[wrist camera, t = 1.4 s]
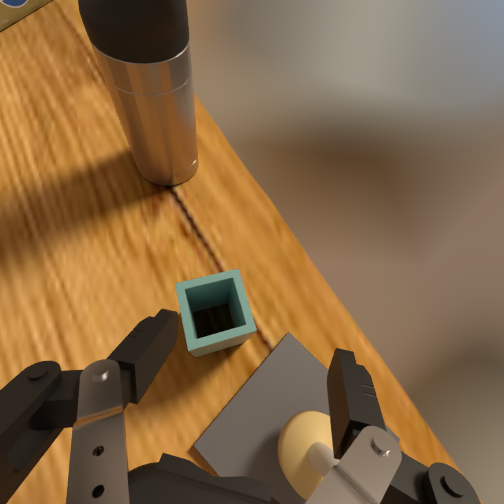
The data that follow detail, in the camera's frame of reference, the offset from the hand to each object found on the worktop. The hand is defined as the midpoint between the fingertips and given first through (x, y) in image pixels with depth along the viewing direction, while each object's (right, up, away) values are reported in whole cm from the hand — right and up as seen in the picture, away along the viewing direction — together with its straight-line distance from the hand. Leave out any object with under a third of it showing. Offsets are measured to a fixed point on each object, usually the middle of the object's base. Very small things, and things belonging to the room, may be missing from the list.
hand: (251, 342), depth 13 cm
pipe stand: (+5, -16, +15) cm, 22 cm away
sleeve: (-4, -4, +19) cm, 20 cm away
